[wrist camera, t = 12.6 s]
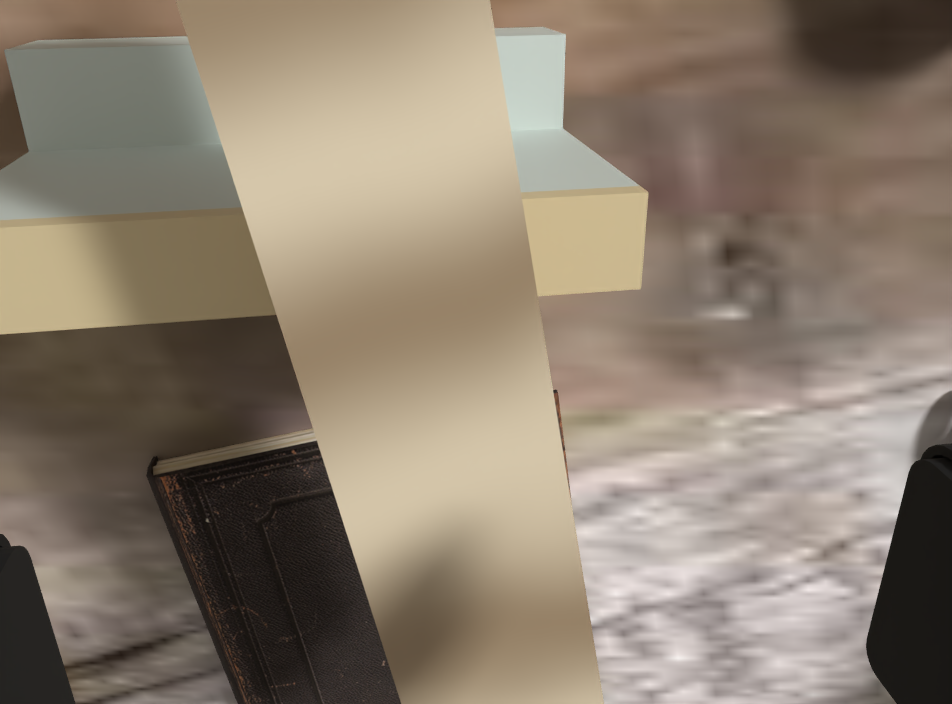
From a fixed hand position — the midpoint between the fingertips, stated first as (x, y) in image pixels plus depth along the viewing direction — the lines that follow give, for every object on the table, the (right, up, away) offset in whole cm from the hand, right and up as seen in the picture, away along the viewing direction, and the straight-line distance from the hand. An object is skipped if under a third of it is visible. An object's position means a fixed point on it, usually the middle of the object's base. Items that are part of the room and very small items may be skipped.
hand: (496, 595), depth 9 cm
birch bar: (-2, +5, +10) cm, 11 cm away
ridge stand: (-6, +9, +20) cm, 22 cm away
